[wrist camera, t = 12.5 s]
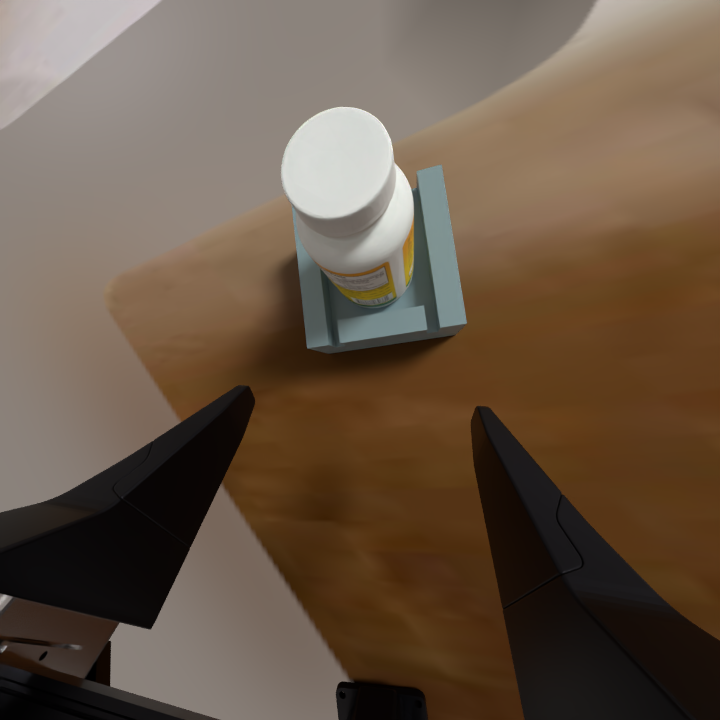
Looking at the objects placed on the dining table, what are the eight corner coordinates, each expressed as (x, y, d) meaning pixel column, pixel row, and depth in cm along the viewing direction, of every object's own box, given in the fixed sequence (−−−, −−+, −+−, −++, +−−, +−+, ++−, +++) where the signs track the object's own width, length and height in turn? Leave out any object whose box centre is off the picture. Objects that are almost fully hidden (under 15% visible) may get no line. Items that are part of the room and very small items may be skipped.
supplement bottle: (374, 325, 18) (329, 273, 9) (322, 274, 19) (233, 178, 10) (431, 267, 18) (450, 144, 8) (375, 218, 19) (335, 57, 9)
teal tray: (455, 335, 20) (466, 323, 16) (329, 353, 22) (307, 348, 17) (436, 209, 21) (441, 164, 16) (315, 238, 23) (291, 205, 18)
